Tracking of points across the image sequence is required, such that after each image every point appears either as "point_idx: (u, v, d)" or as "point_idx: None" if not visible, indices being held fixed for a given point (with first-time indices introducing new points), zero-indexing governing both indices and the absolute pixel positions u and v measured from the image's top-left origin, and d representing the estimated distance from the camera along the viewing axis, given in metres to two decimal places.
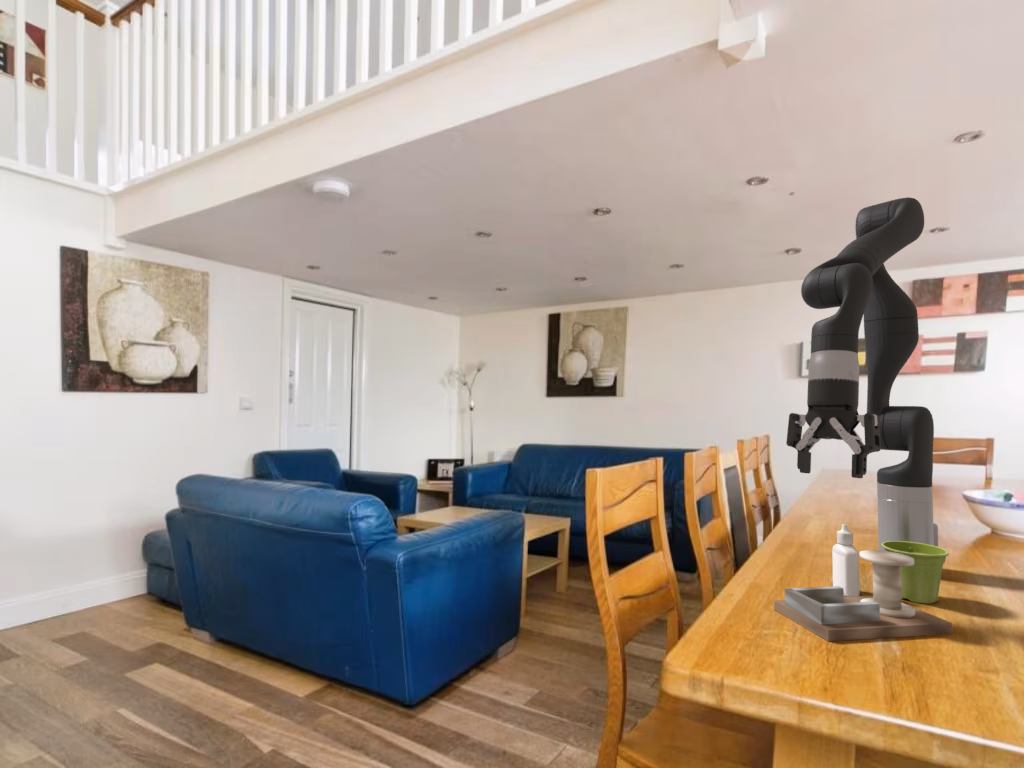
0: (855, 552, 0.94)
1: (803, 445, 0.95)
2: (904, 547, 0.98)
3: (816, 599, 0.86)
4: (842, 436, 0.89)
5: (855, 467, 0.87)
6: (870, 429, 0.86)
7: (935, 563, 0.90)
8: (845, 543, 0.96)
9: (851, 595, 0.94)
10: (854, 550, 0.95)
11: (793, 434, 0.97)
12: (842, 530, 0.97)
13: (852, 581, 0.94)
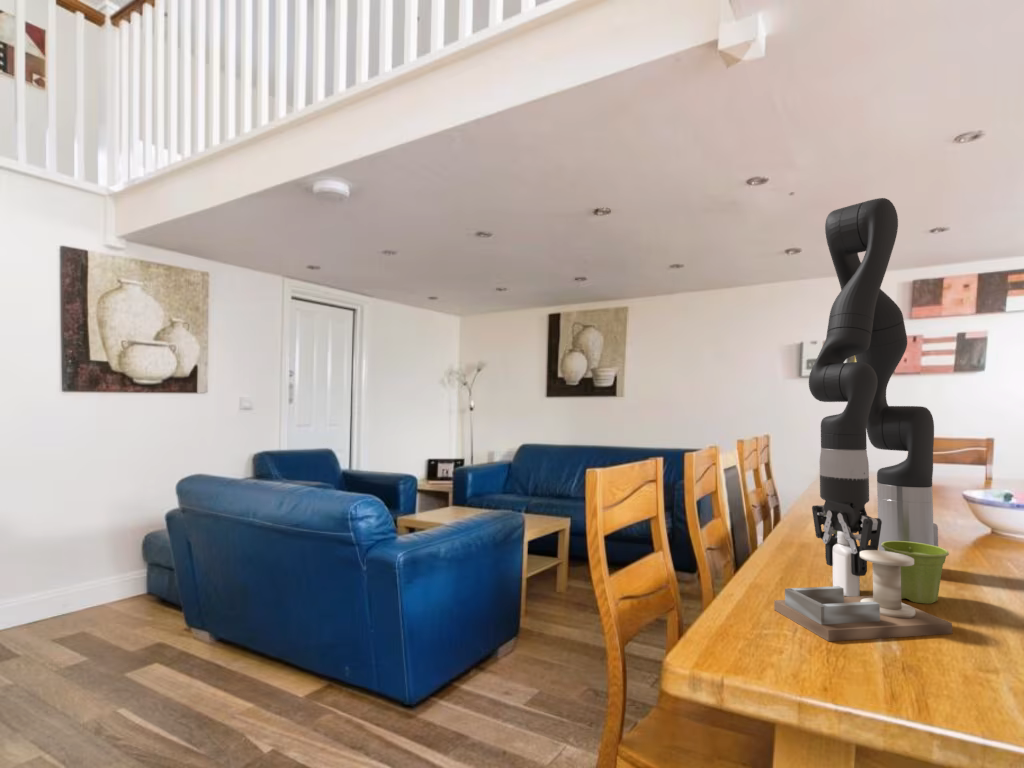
0: None
1: (827, 539, 0.99)
2: (904, 547, 0.98)
3: (816, 599, 0.86)
4: (844, 533, 0.95)
5: (854, 566, 0.93)
6: (865, 534, 0.91)
7: (935, 563, 0.90)
8: (845, 543, 0.96)
9: (851, 595, 0.94)
10: None
11: (819, 526, 1.02)
12: None
13: (852, 581, 0.94)
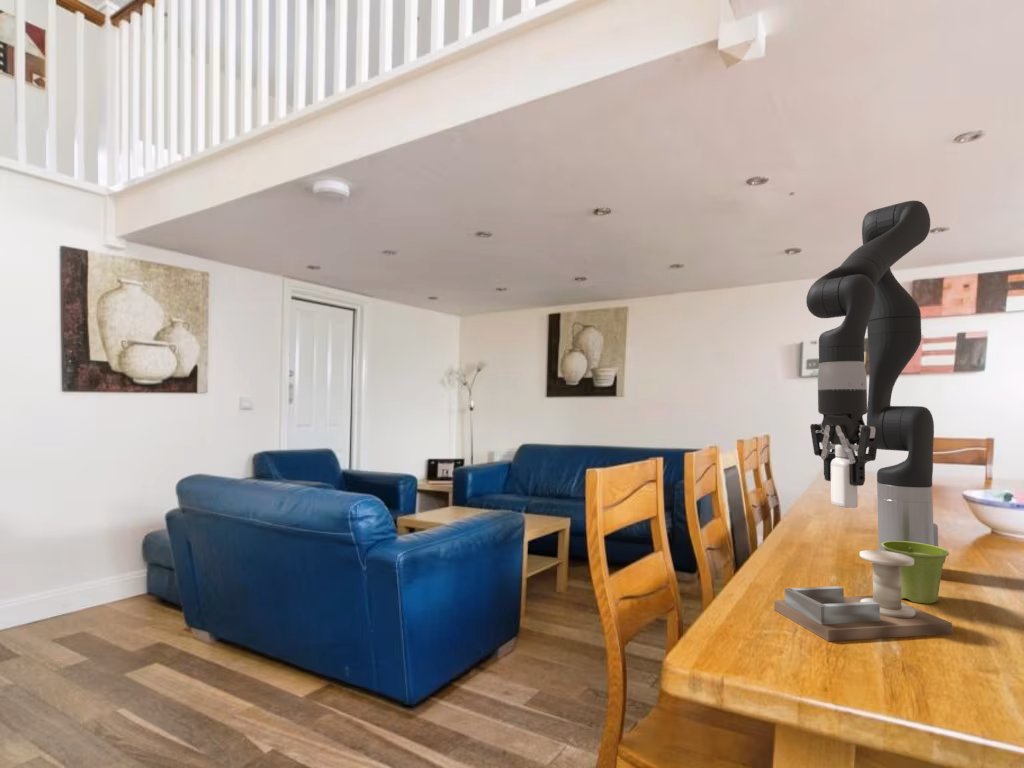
0: None
1: (826, 455, 1.00)
2: (904, 547, 0.98)
3: (816, 599, 0.86)
4: (842, 444, 0.95)
5: (852, 476, 0.94)
6: (863, 442, 0.91)
7: (935, 563, 0.90)
8: (843, 455, 0.96)
9: (849, 505, 0.94)
10: None
11: (817, 443, 1.02)
12: None
13: (850, 492, 0.94)
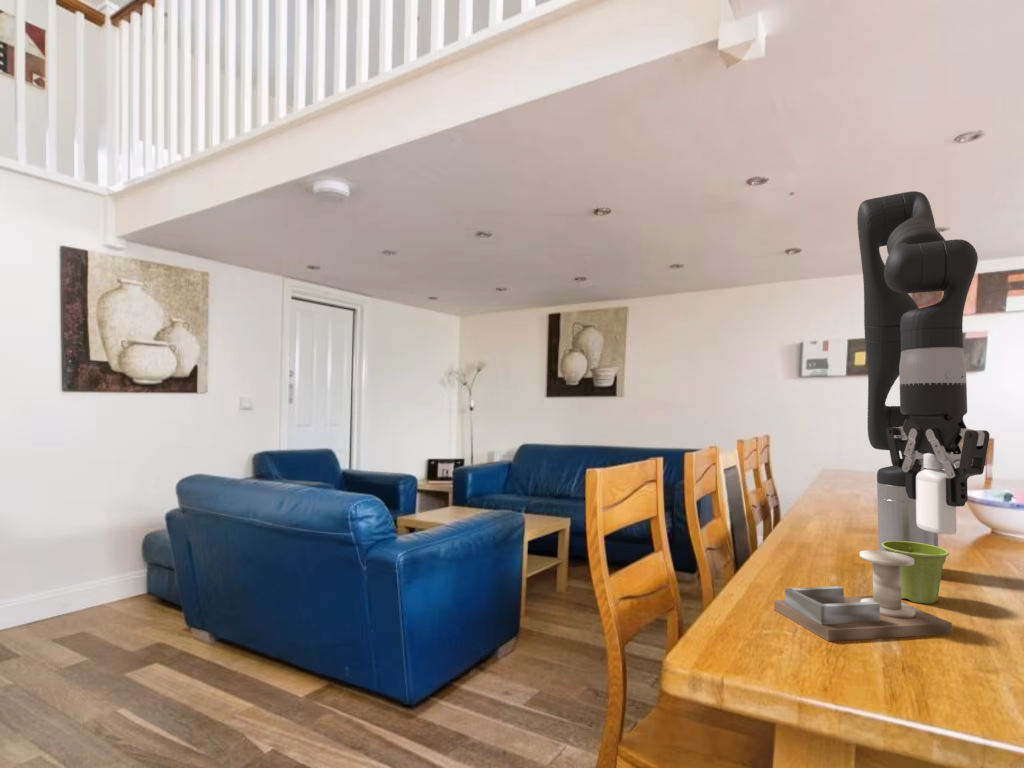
0: None
1: (909, 466, 0.79)
2: (904, 547, 0.98)
3: (816, 599, 0.86)
4: (936, 453, 0.75)
5: (950, 494, 0.73)
6: (968, 451, 0.71)
7: (935, 563, 0.90)
8: (936, 467, 0.76)
9: (946, 532, 0.74)
10: None
11: (896, 451, 0.82)
12: None
13: (947, 514, 0.74)
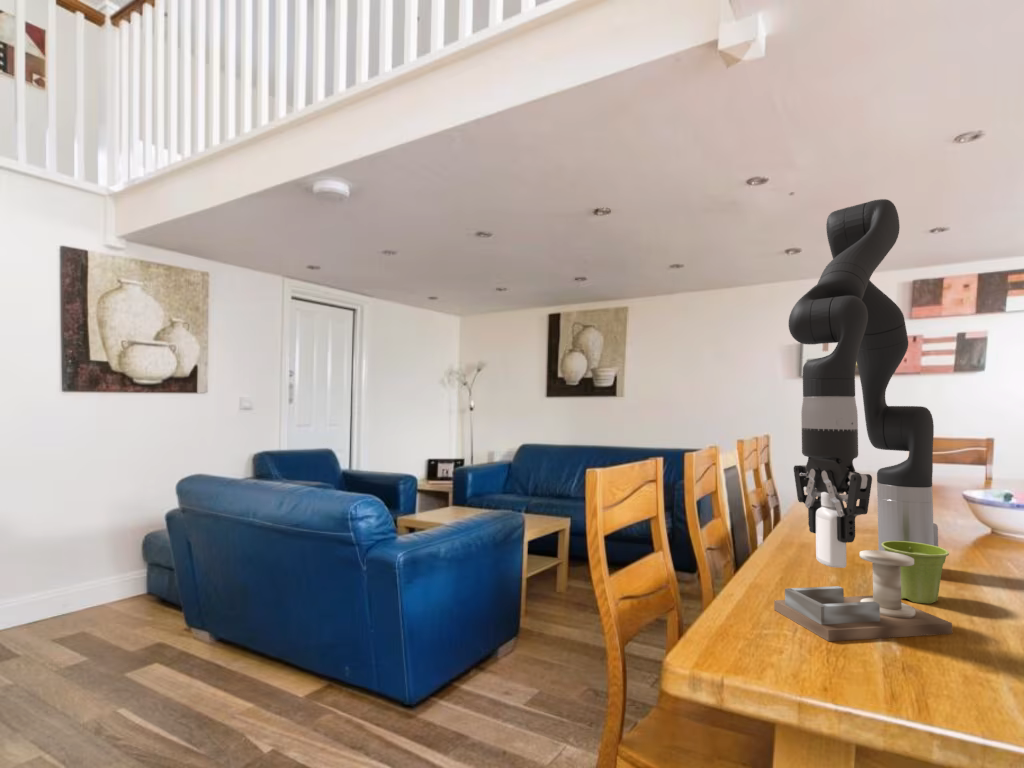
0: None
1: (810, 503, 0.86)
2: (904, 547, 0.98)
3: (816, 599, 0.86)
4: (829, 493, 0.81)
5: (840, 531, 0.80)
6: (853, 493, 0.78)
7: (935, 563, 0.90)
8: (830, 505, 0.83)
9: (836, 565, 0.81)
10: None
11: (801, 488, 0.89)
12: None
13: (837, 549, 0.81)
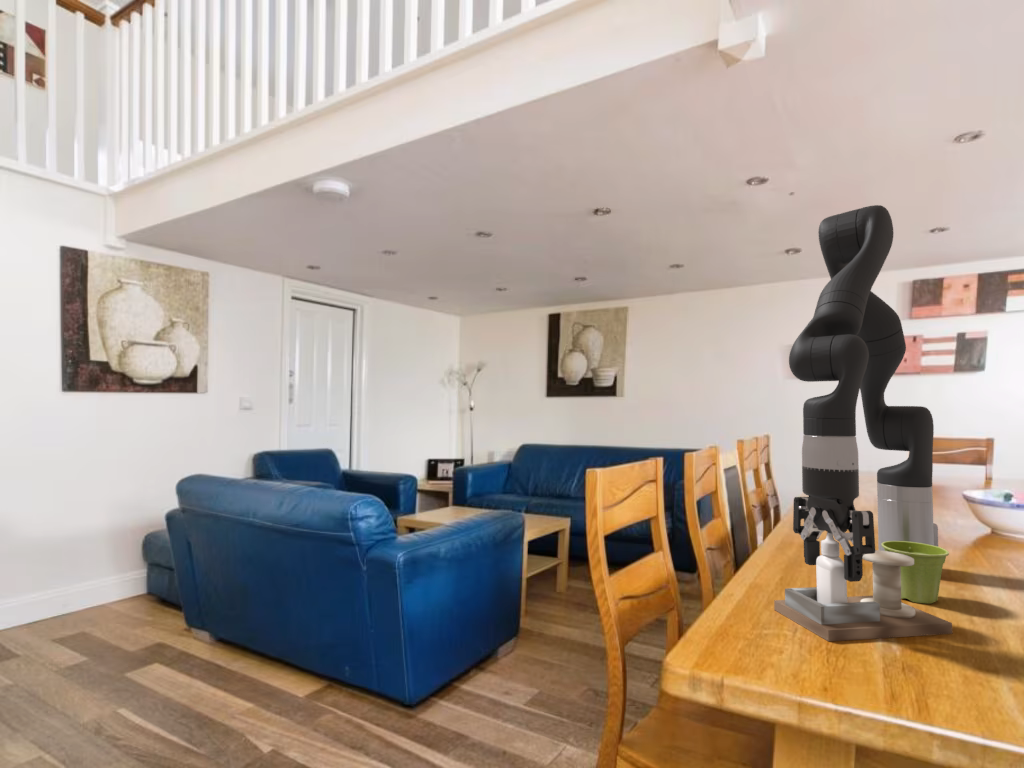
0: (842, 565, 0.81)
1: (806, 535, 0.87)
2: (904, 547, 0.98)
3: (816, 599, 0.86)
4: (833, 533, 0.81)
5: (847, 570, 0.79)
6: (857, 530, 0.77)
7: (935, 563, 0.90)
8: (830, 555, 0.82)
9: None
10: (840, 563, 0.81)
11: (798, 520, 0.89)
12: (827, 539, 0.83)
13: (838, 600, 0.80)
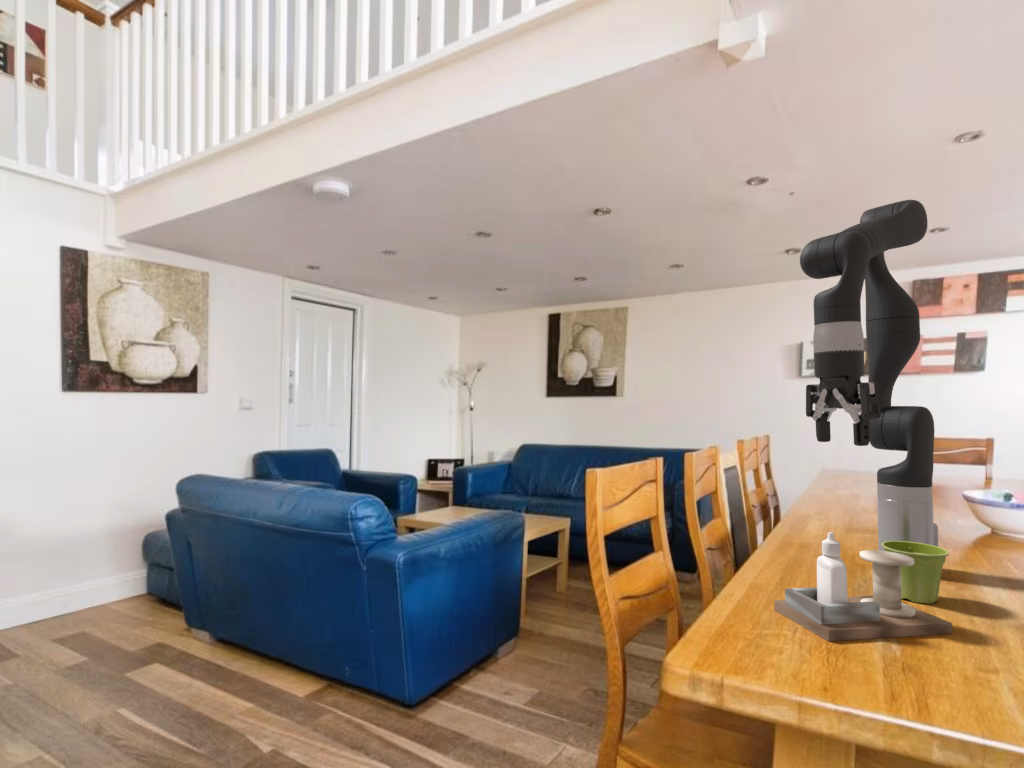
0: (842, 565, 0.81)
1: (817, 415, 0.98)
2: (904, 547, 0.98)
3: (816, 599, 0.86)
4: (843, 406, 0.91)
5: (856, 435, 0.90)
6: (864, 399, 0.88)
7: (935, 563, 0.90)
8: (831, 555, 0.82)
9: None
10: (841, 563, 0.81)
11: (810, 405, 1.00)
12: (828, 539, 0.83)
13: (839, 600, 0.80)
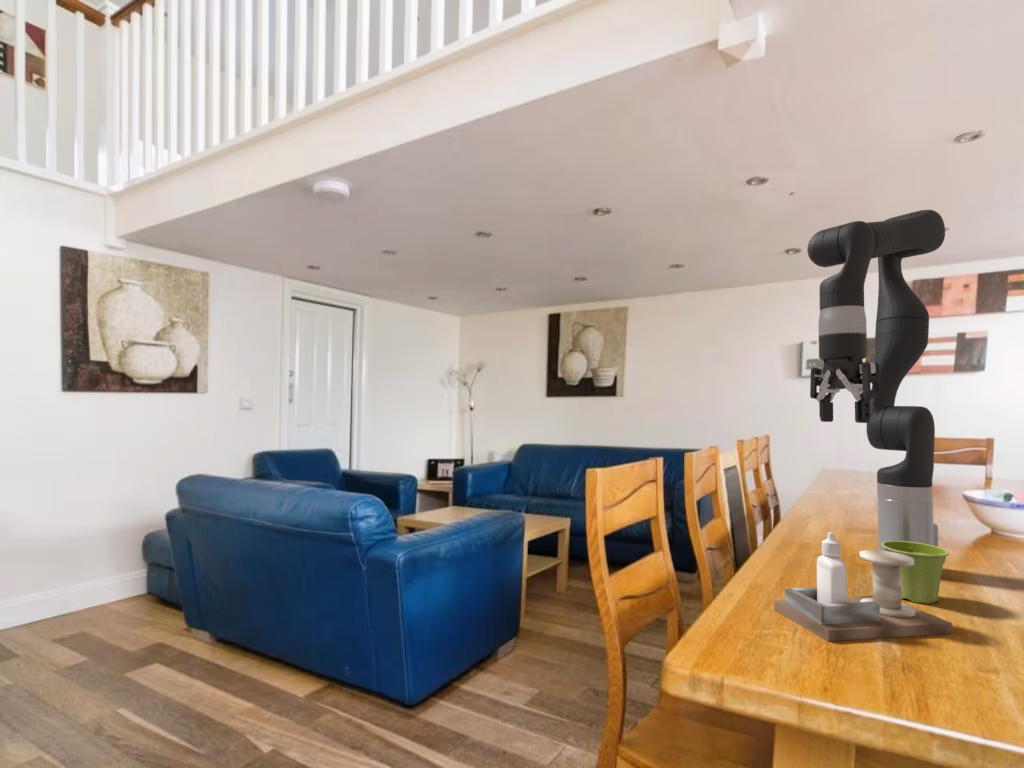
0: (842, 565, 0.81)
1: (821, 396, 1.03)
2: (904, 547, 0.98)
3: (816, 599, 0.86)
4: (845, 385, 0.96)
5: (857, 413, 0.94)
6: (866, 377, 0.93)
7: (935, 563, 0.90)
8: (831, 555, 0.82)
9: None
10: (841, 563, 0.81)
11: (814, 387, 1.05)
12: (828, 539, 0.83)
13: (839, 600, 0.80)
